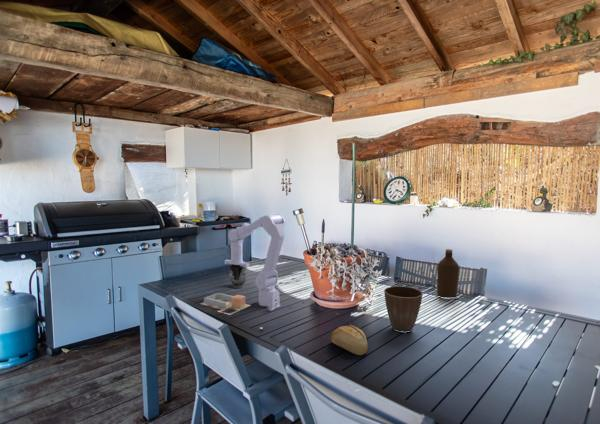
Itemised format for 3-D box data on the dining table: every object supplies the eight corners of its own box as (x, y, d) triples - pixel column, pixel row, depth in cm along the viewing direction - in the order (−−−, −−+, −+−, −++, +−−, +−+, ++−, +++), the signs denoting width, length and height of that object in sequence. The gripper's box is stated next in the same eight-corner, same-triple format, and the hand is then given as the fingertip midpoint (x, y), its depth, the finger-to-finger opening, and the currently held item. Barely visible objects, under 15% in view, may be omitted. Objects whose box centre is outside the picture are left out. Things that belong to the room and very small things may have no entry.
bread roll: (340, 338, 143) (341, 318, 142) (374, 351, 132) (375, 329, 132) (324, 346, 136) (325, 325, 135) (358, 360, 126) (359, 337, 125)
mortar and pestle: (236, 290, 201) (236, 268, 199) (226, 286, 207) (225, 265, 206) (252, 285, 209) (252, 265, 208) (242, 282, 215) (242, 262, 214)
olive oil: (451, 301, 186) (453, 252, 184) (431, 296, 195) (434, 249, 192) (461, 297, 193) (464, 250, 191) (442, 292, 201) (444, 247, 199)
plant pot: (394, 339, 142) (396, 298, 140) (376, 324, 156) (377, 287, 155) (428, 335, 146) (430, 296, 144) (407, 321, 160) (409, 285, 159)
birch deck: (251, 308, 173) (251, 305, 173) (229, 318, 161) (229, 314, 161) (216, 300, 184) (216, 297, 184) (194, 308, 172) (194, 305, 172)
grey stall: (238, 302, 177) (238, 297, 177) (224, 308, 169) (224, 302, 168) (218, 297, 183) (217, 292, 183) (203, 303, 175) (203, 297, 175)
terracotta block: (245, 305, 173) (245, 295, 172) (240, 308, 169) (240, 298, 168) (236, 304, 174) (236, 294, 174) (231, 307, 170) (231, 297, 170)
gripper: (253, 253, 186) (253, 279, 187) (231, 250, 193) (231, 275, 194) (244, 255, 180) (244, 283, 181) (221, 252, 187) (221, 278, 188)
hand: (236, 279), depth 187 cm, fingers closed
